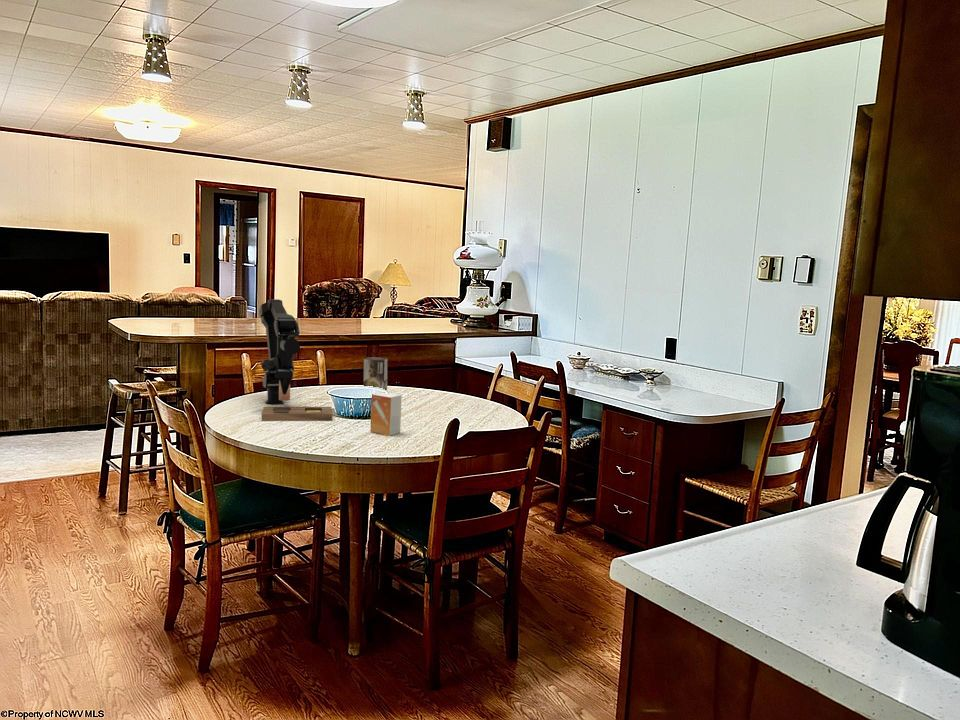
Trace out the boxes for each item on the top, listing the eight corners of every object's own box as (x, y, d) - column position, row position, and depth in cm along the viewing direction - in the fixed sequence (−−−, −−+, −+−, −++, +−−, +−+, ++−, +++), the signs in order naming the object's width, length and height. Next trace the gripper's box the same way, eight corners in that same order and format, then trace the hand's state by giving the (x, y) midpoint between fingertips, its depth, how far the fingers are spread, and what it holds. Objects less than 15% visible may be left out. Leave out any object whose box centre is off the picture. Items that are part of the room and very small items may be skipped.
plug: (279, 398, 275) (279, 377, 273) (290, 398, 275) (290, 377, 274) (278, 400, 271) (278, 379, 270) (289, 400, 272) (290, 379, 271)
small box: (369, 432, 247) (371, 394, 245) (381, 429, 252) (382, 391, 251) (389, 436, 243) (391, 397, 241) (400, 432, 248) (402, 394, 247)
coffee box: (387, 395, 314) (388, 358, 311) (383, 398, 307) (385, 359, 305) (366, 394, 314) (367, 356, 312) (362, 396, 308) (363, 358, 306)
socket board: (263, 413, 267) (263, 405, 267) (331, 413, 273) (331, 405, 272) (261, 420, 256) (261, 412, 255) (332, 420, 261) (332, 412, 261)
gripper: (263, 347, 278) (263, 388, 280) (260, 354, 260) (260, 397, 262) (294, 348, 280) (293, 388, 282) (293, 354, 262) (292, 397, 264)
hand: (284, 393), depth 273 cm, fingers closed on plug, 4 cm apart
